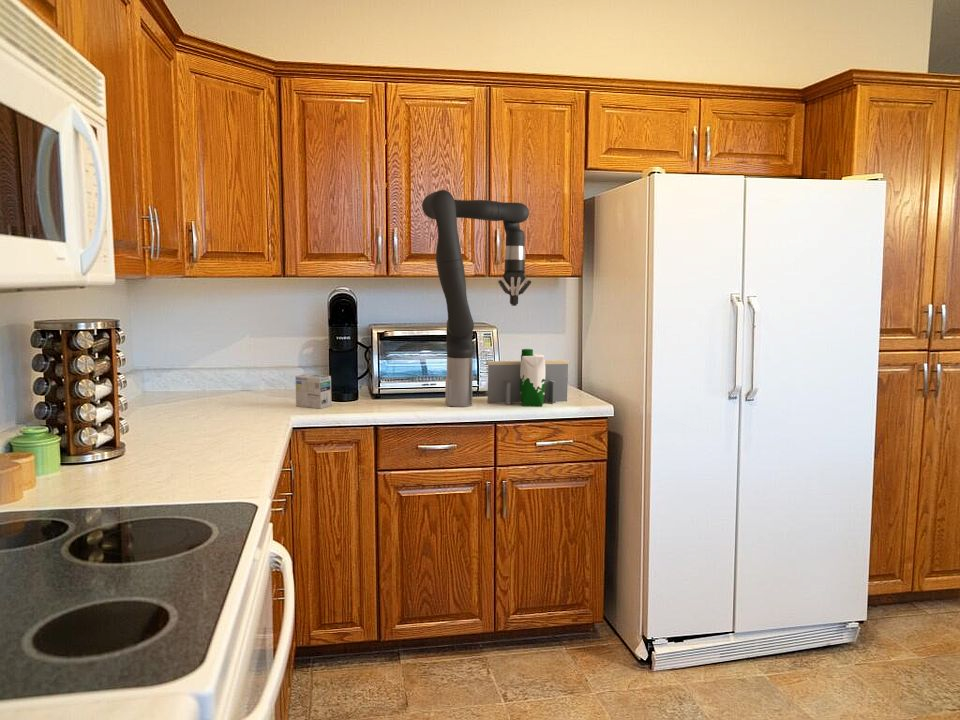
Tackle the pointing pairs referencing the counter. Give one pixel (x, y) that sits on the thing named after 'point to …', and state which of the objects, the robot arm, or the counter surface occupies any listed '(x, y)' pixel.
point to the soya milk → (532, 378)
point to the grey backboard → (508, 381)
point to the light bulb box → (313, 391)
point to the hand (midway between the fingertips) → (513, 305)
